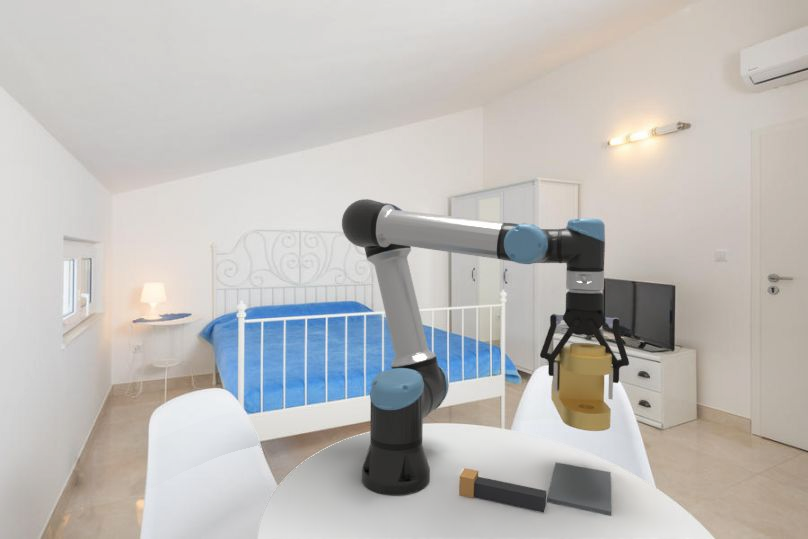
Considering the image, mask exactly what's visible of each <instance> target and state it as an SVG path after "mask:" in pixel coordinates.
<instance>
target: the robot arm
mask: <svg viewBox="0 0 808 539" xmlns="http://www.w3.org/2000/svg"><path fill="white" fill-rule="evenodd" d="M341 228H342V229H341V230H342V232H343V234H344V236H345V238H346V239H347V240H348V242H350V243H351V244H353V245H354V246H356V247H359V248H364V253H365V256H366V260H367V261H368V262H370V263H371V264H373V266H374V269H375V274H376V277H377V283H378V286H379V287H378V288H379V290H380V291H379V292H380V295H381V300H382V304H383V309H384V314H385V318H386V322H387V326H388V331H389V335H390V339H391V344H392V349H393V353H394V359H393V360H392V362H391V364H390V367H391V369H385V370H382V371H381V372H379V373H377V374H376V375H375V376H374V377H373V378H372V381H371V385H370V386H371V388H370V392H369V399H370V416H369V417H370V428H369V429H370V442H369V446H368V450H367V453H366V456H365V460H364V462H363V464H362V469H361V472H362V473H361V480H362V483H363V485H364V486H365V487H366V488H367V489H369V490H371V491H374V492H376V493H378V494H383V495H388V496H389V495H390V496H391V495H392V496H400V495H401V496H402V495H409V494H413V493H416V492H419V491H421V490H423V489H425V488H426V486H429V483H430V482H431V481H430V480H431V477H430V476H431V475H430V474H431V472H430V471H431V470H430V469H431V468H430V464H429V462H428V458H427V455H426V452H425V449H424V446H423V427H424V426H423V425H424V424H423V422H424V421H423V420H424V419H425V418H426V417H427V416H429V415H430V414H431V413H432V412H433V411H435V410H437V409H438V408H439V407H440V406H441V404H442V403H443V402H444V400H446V397H447V395H448V392H449V386H450V385H449V377H448V375H447V373H446V370H444V368H443V367H441V366H440V365H439V363H438V359H437V355H436V353H434V351H431V350H430V349H429V347H428V343H427V337H426V333H425V329H424V325H423V321H422V317H421V312H420V308H419V303H418V300H417V295H416V291H415V287H414V286H415V285H414V282H413V278H412V274H411V269H410V266H409V262H408V257H409V254H410V252H412V248H417V249H418V248H419V249H424V250H425V249H426V250H432V251H433V250H434V251H440V252H445V253H446V252H447V253H453V254H454V253H455V254H461V255H467V256H468V255H469V256H475V257H482V258H487V259H489V258H490V259H494V260H495V259H496V260H501V261H507V262H508V261H509V262H513V263H516V264H521V265H531V264H566V270H565V271H566V276H565V279H566V280H565V289H567V290H568V291H567V292H566V293H565V311H564V314H555V313H552V314H551V315H550V317H549V322H550V323H549V325H550V326H549V328H548V331H547V334H546V336H545V337H546V338H545V339H544V342H543V345H542V348H541V351H540V354H539V356H540V358H542V359H545V360H546V361H547V362H548V369H547V370H548V376H549V377H553V376H554V381H553V392H555V393H557V391H558V367H559V360H556V357H557V355H558V354H559V353H560V351H561V349H562V348H563V347H564V346H566V344H567V342H568V341H569V340H570V338H571V337H572V335H573V334H575V335H577V336H581V335H585V336H588V337H590V336H594V337H595V339H596V341H597V342H598V344H599V345H602V346H605V353H610V354H611V355H612V372H611V374H608V395H607V396H608V400H613V396H614V395H613V391H614V389H613V388H614V384H618V383H619V382H620V368H621V367H627V366H629V365H630V361H629V357H628V354H627V351H626V348H625V345H624V341H623V338H622V335H621V332H620V319H619V318H618V317H606V316H605V313H604V299H605V298H604V296H605V295H604V294H603V292H601V291H604V289H605V252H606V250H605V249H606V235H605V234H606V232H605V228H606V227H605V222H604V221H602V220H601V219H599V218H573V219H569V220H568V221H567V225H566V228H557V229H556V228H554V229H553V228H550V229H549V228H540V227H539V226H537V225H535V224H532V223H512V222H503V221H497V220H496V221H494V220H485V219H477V218H468V217H459V216H450V215H442V214H433V213H424V212H415V211H408V210H407V211H406V210H403V209H402V208H400V207H398V206H397V205H395V204H391V203H387V202H386V203H385V202H381V201H377V200H373V199H367V198H364V199H363V198H362V199H358V200H356V201H354V202H352V203H351V204H350V205H348V206H347V207H346V209H345V211H344V212H343V214H342V218H341ZM562 321H564V322H565V325H567V327H568V329H567V330H566V332H565V333H564V334H563V336H562V337H561V339H560V340H559V342H558V343H557V344H556V346H555V348H554V349H553V350H552V352H551V353H550V352H549V349H550V347H551V343H552V341H553V338H554V335H555V332H556V330H557V327H558V325H560V324H561V322H562ZM605 323H606V324H607V326H608V328H609V329H612V333H613V337H614V341H615V343H616V346H617V350H618V352H619V356H620V359H618V358H617V356H616V355H615V353H614V351H613V350H612V348H611V347H610V345H609V343H608V342H607V340H606V339H605V337H604V335H603V333H602V331H601V330H600V329H601V328H602V327H603V325H605Z"/></svg>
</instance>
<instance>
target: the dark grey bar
mask: <svg viewBox="0 0 808 539" xmlns="http://www.w3.org/2000/svg"><path fill="white" fill-rule="evenodd" d="M458 486H459V487H458V488H459V490H458V491H459V492H458V493H459V494H458V496H461V497H466V498H470V499H474V498H475V499H476V498H477V499H480V500H484V501H489V502H494V503H498V504H499V503H500V504H503V505H507V506H511V507H515V508H521V509H525V510H529V511H534V512H539V513H542V514H543V513H545V510H546V507H547V490H545V489H539V488H535V487H531V486H526V485H521V484H516V483H510V482H505V481H501V480H496V479H493V478H487V477H483V476H482V477H481V476H479V470H475V469H471V468H463V470H462V472H461V473H460V474H459V484H458Z"/></svg>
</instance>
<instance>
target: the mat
mask: <svg viewBox="0 0 808 539" xmlns="http://www.w3.org/2000/svg"><path fill="white" fill-rule="evenodd" d="M552 471H553V472H552V475H551V476H552V477H551V479H550V484H549V488H548V490H547V494H546V503H550V504H551V503H552V504H554V505H555V504H556V505H561V506H564V507H570V508H575V509H579V510H582V511H587V512H593V513H596V514H602V515H607V516H612V483H611V482H612V481H611V480H612V478H611V477H612V476H611V471H605V470H601V469H595V468H589V467H585V466H578V465H574V464H573V465H572V464H569V463H568V464H567V463H562V462H557V461H555V464H554V468H553V470H552Z"/></svg>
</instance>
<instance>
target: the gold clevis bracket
mask: <svg viewBox="0 0 808 539" xmlns="http://www.w3.org/2000/svg"><path fill="white" fill-rule="evenodd" d="M555 360H559V367H558V391H557V393H555V392H553V381H554V376H552V379H551V396H550V397H551V398H550V399H551V401H552V402H553V405H554V407H555V409H556V411H557V412H558V415H559V416H560V419H561V421H562V422H563V423H564V424H565V425H567V426H568V427H571V428H574V429H577V430H583V431H589V432H601V431H602V432H603V431H606V430H609V429H610V428H611V408H610V407H609V405H608V404H607V403H606V402H605V375H608V376H609V374H611V372H612V366H613V365H612V355H611V354H610V353H605V346H602V345H600V344H599V343H598V344H597V343H589V342H574V343H570V344H569V345H564V347H563V348H562V349H561V351H560V353H559V354H558V355H557V357H556V358H555Z"/></svg>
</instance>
